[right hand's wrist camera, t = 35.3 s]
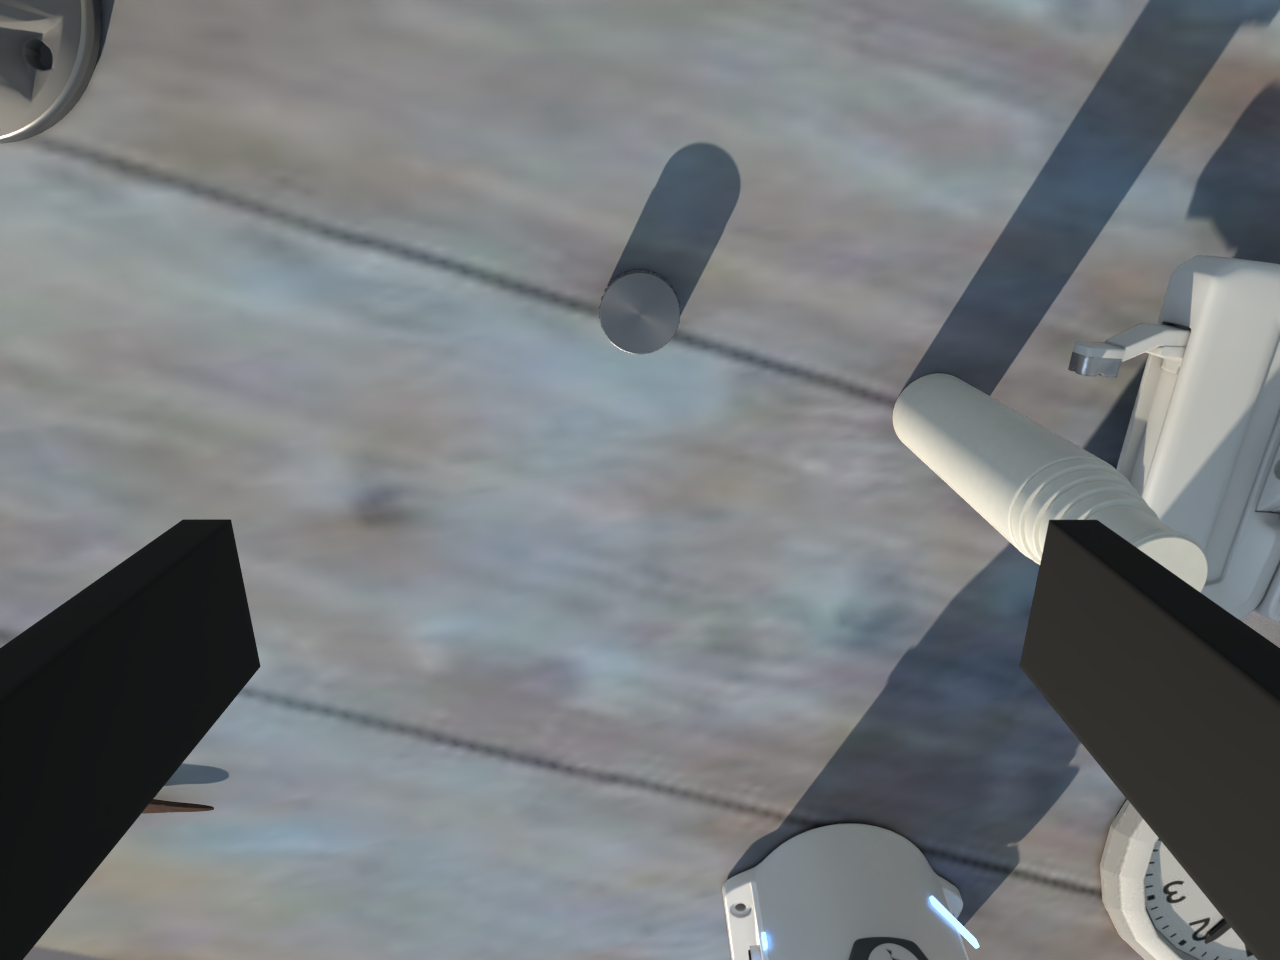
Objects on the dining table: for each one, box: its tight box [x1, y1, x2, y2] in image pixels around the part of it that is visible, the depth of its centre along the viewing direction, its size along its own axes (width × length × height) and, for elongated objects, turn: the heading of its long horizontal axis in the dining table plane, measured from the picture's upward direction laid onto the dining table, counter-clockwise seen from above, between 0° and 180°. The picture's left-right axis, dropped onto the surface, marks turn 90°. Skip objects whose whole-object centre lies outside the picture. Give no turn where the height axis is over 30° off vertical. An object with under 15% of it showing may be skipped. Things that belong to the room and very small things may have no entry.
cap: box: [599, 269, 681, 354], centre depth 44 cm, size 5×5×2 cm
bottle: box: [893, 373, 1208, 593], centre depth 37 cm, size 5×5×22 cm
